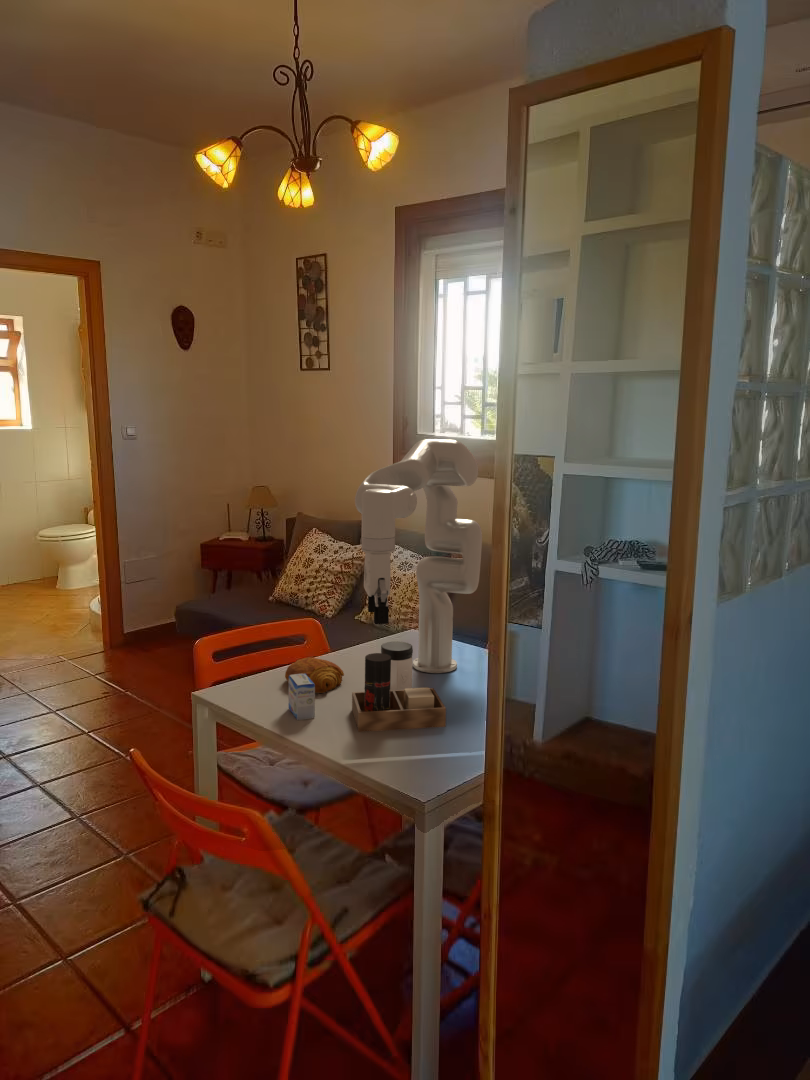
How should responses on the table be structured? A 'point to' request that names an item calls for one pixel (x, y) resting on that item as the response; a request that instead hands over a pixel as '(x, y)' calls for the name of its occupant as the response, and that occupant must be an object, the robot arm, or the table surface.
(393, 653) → the jar
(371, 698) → the deodorant
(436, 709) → the box
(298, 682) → the medicine box
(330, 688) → the croissant
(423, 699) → the beech block
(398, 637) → the table surface
